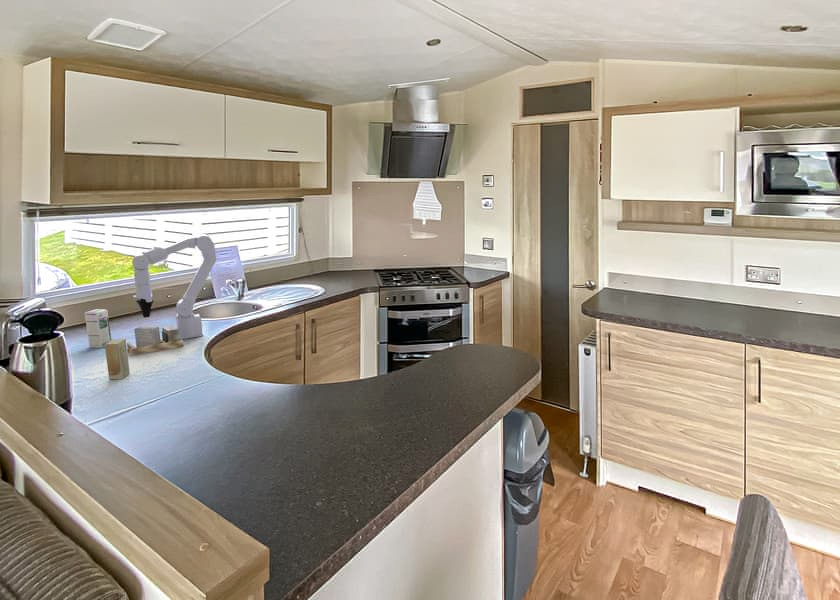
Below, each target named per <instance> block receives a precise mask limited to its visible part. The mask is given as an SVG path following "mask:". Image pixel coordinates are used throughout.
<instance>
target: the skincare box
mask: <svg viewBox="0 0 840 600" xmlns="http://www.w3.org/2000/svg"><path fill="white" fill-rule="evenodd" d="M104 350H105V351H104V352H105V357H106V363H107V365H106V366H107V372H108V373H107V374H108V379H118V380H123V379H125V378H127V376H129V375H130V373H131V371H130V370H131V369H130V364H129V363H130V362H129V355H128V348H127V339H126V338H115V339H114V338H113V339H112V338H111V341H109V342H108V343H106V344H105V347H104ZM124 377H125V378H124Z"/></svg>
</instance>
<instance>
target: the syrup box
mask: <svg viewBox="0 0 840 600" xmlns="http://www.w3.org/2000/svg"><path fill="white" fill-rule="evenodd" d="M84 319H85V323H86V324H85V325H86V331H87V338H88V344H89V345H88V346H89V348H91V349H92V348H93V349H103V348H105V344H106V343H108V342H109V341H111V340H112V334H111V327H110V319H109V312H108V309H105V308H100V309H99V308H98V309H97V308H96V309H93V310H89V311H85V312H84Z"/></svg>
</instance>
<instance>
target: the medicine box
mask: <svg viewBox="0 0 840 600" xmlns="http://www.w3.org/2000/svg"><path fill="white" fill-rule="evenodd" d="M160 332H161V331H160V327H159V326H158V325H157V326H156V325H155V326H154V325H153V326H152V325H149V326H148V325H141V326H138V327H135V328H134V336H135V344H136V345H135V348H137V347H143V346H149V345H155V344H161V339H162V338H161V333H160Z"/></svg>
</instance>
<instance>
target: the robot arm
mask: <svg viewBox="0 0 840 600" xmlns="http://www.w3.org/2000/svg"><path fill="white" fill-rule="evenodd" d="M196 247H197V249H198V250H199V251H200V253H201V255H202V258H203V259H202V260H201V261H202V262H201V263H200V265H199V267H198V268H197V270H196V272H195V274H194V276H193V278H192V280H191V282H190V284H189V285H188V288H187V290H186V291H185V293H184V294H183V296H182V297H181V298H180V299H178V300H177V302H176V305H175V306H176V313H177V314H175V319H176V328H178V329H179V339H180V340H184V339H185V340H186V339H191V338H197V337H203V336H204V334H203V324H202V318H201V316H200V314H199V313H197V314H195V312H194V305H195V303H196V301H197V298H198V295H199V294H200V291H201V290H202V288H203V286H204V284H205V282H206V280H207V278H208V276H209V274H210V273H211V271H212V269H213V267H214V265H215V264H216V260H217V255H216V248H215V247H216V246H215V243H214V242H213V240H212V238H211V237H210V235H208V234H205V233H200V234H198V235H194V236H189V237H187V238H186V237H185V238H183V239H182V240H179V241H178V242H175V243H172V244H170V245H168V246H166V247H164V246H161V245H159V246H158V245H155V246H153V248H152V249H149V250H147V251H142V252H141V254H136V255H134V257H133V259H132V261H131V262H132V263H131V264H132V266H133V275H134V277H133V278H134V287H135V295H133V296H132V297H133V299H138V300H135V301H136V303H137V304H138V306H139V308H140V312H141V314H142V317H143V318H144V319H145V318H150V317H151V309H152V306H153V304H154V299H153V298H152V297H153V296H154V295H153V290H152V281H151V273H150V270H149V269H150V268H149V266H150V265H151V266H154V265H156V264H158V263H160V262H162V261H165V260H168V258H169V255H171V254H174V253H177V252H180V251H182V250H186V249H196Z"/></svg>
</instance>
